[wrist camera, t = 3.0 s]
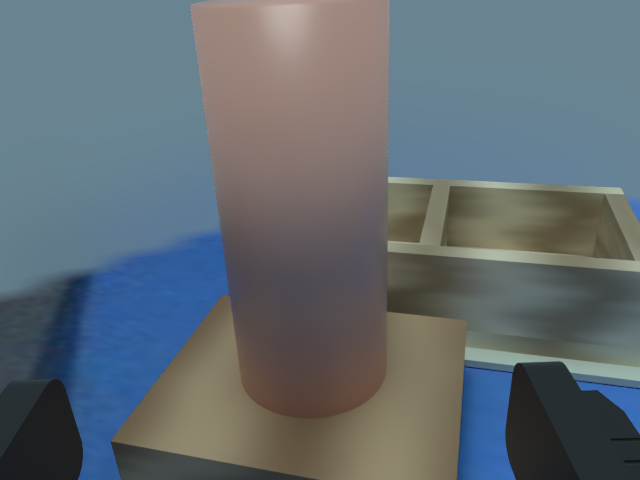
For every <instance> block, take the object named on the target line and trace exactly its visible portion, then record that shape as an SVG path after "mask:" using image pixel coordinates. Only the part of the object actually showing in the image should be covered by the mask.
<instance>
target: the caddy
mask: <svg viewBox="0 0 640 480" xmlns="http://www.w3.org/2000/svg"><path fill="white" fill-rule="evenodd" d="M387 312H393V313H403V314H412V315H421V316H431V317H440V318H450V319H459V320H467V328H466V344H465V347H470V348H478V349H487V350H495V351H504V352H512V353H521V354H529V355H538V356H546V357H555V358H563V359H572V360H580V361H589V362H597V363H606V364H614V365H623V366H631V367H640V223H639V221H638V219H637V218H636V216H635V214H634V212H633V210H632V208H631V206H630V204H629V203H628V201H627V199H626V197H625V195H624V193H623V191H622V189H621V188H610V187H609V188H608V187H589V186H567V185H547V184H526V183H503V182H484V181H463V180H442V179H421V178H401V177H388V255H387Z"/></svg>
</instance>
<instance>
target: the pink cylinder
mask: <svg viewBox="0 0 640 480" xmlns="http://www.w3.org/2000/svg"><path fill="white" fill-rule="evenodd" d="M190 8H191V16H192V23H193V31H194V38H195V45H196V53H197V60H198V67H199V74H200V82H201V89H202V97H203V104H204V111H205V119H206V126H207V133H208V140H209V148H210V155H211V163H212V170H213V177H214V185H215V192H216V199H217V206H218V214H219V221H220V229H221V236H222V243H223V251H224V258H225V265H226V272H227V280H228V287H229V294H230V302H231V309H232V316H233V324H234V331H235V338H236V346H237V353H238V360H239V368H240V375H241V381H242V384H243V387H244V389H245V391H246V393H247V394H248V395H249V396H250V397H251V399H253V400H254V401H255V402H256V403H257V404H259V405H260V406H262V407H263V408H265V409H267V410H270V411H272V412H274V413H277V414H280V415H284V416H289V417H296V418H323V417H329V416H334V415H338V414H341V413H345V412H347V411H350V410H352V409H354V408H356V407H358V406H360V405H362V404H363V403H365V402H366V401H368V400H369V399H370V398H371V397H372V396H373V395H374V394H375V393H376V392H377V391H378V390H379V389H380V387H381V385H382V384H383V382H384V379H385V376H386V370H387V255H388V120H389V113H388V112H389V111H388V110H389V0H209V1H202V2H198V3H194V4H191V5H190Z"/></svg>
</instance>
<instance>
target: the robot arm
mask: <svg viewBox="0 0 640 480" xmlns="http://www.w3.org/2000/svg"><path fill="white" fill-rule="evenodd" d="M505 434H506V447H507V453H508V458H509V461H510V465H511V468H512V470H513V473H514V476H515V478H516V480H640V435H639V433H638V432H637V430H636V429H635V427H634V426H633V424H632V423H631V421H630V420H629V418H628V417H627V415H626V414H625V412H624V411H623V410H621V409H620V408H619V407H618V406H616V405H615V404H614V403H613V402H611V401H610V400H609V399H608V398H606V397H605V396H604V395H603V394H601V393H600V392H599V391H598V390H591V391H581V390H580V388H579V386H578V385H577V383H576V381H575V380H574V378H573V376H572V375H571V373H570V371H569V370H568V368H567V366H566V365H565V364H564V363H563V362H561V361H550V362H524V363H517V364H516V365H515V367H514V370H513V375H512V383H511V391H510V398H509V406H508V414H507V421H506V433H505ZM82 459H83V447H82V442H81V438H80V435H79V432H78V428H77V425H76V422H75V419H74V416H73V412H72V409H71V406H70V403H69V400H68V396H67V393H66V390H65V387H64V385H63V383H62V382H61V381H60V380H58V379H43V380H17V381H13V382H11V383H9V384H8V385H7V386H6V388H5V389H4V390H3V392H2V393H1V394H0V480H78V478H79V475H80V471H81V467H82Z"/></svg>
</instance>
